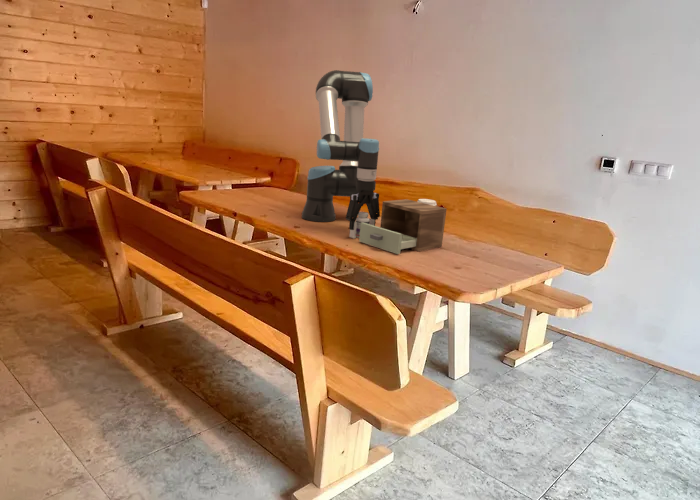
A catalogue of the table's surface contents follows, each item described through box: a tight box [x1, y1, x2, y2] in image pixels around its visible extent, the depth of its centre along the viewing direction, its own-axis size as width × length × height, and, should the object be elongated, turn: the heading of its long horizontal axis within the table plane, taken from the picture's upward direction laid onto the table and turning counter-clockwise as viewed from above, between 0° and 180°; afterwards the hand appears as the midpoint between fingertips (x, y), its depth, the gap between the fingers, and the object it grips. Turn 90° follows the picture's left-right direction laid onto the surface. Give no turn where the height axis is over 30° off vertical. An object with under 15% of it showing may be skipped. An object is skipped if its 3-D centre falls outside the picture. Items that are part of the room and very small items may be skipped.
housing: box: [379, 198, 448, 252], centre depth 201 cm, size 20×14×15 cm
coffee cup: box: [417, 198, 438, 206], centre depth 214 cm, size 8×8×15 cm
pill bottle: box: [355, 211, 370, 239], centre depth 206 cm, size 5×5×10 cm
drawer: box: [358, 223, 417, 255], centre depth 194 cm, size 20×16×7 cm
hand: (361, 236), depth 207 cm, fingers open, 9 cm apart
